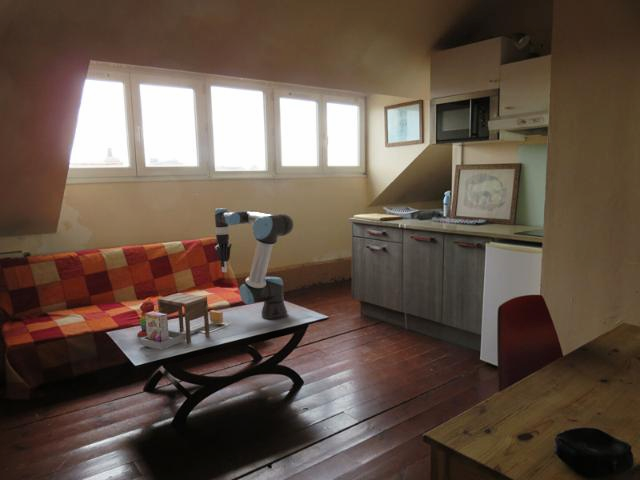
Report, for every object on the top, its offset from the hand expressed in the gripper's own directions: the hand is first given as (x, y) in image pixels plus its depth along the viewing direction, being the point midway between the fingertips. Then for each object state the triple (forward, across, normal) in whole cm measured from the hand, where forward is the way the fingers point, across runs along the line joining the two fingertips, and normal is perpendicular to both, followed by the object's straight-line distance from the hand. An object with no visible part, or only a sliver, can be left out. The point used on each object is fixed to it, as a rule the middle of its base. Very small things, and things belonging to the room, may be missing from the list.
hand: (224, 271), depth 278 cm
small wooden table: (+24, +46, +14) cm, 54 cm away
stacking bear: (+25, +51, -8) cm, 57 cm away
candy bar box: (+25, +62, +12) cm, 68 cm away
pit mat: (+24, +29, +14) cm, 41 cm away
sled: (+23, +45, +14) cm, 52 cm away
